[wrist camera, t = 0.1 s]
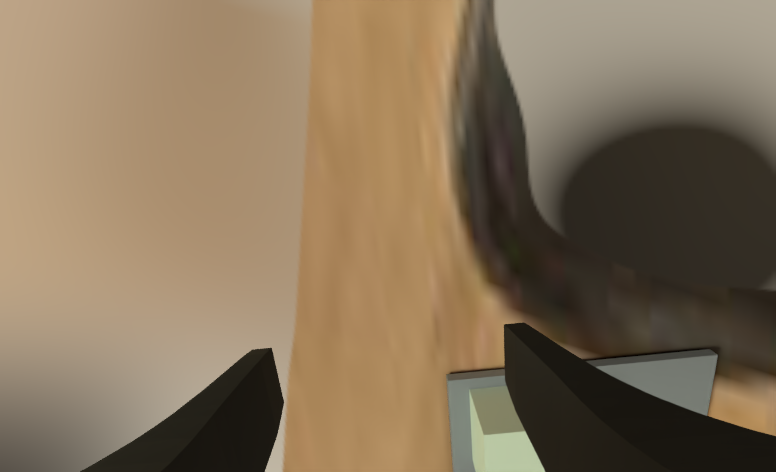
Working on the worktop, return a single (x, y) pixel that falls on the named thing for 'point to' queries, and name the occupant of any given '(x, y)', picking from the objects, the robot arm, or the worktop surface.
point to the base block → (499, 434)
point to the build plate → (648, 372)
